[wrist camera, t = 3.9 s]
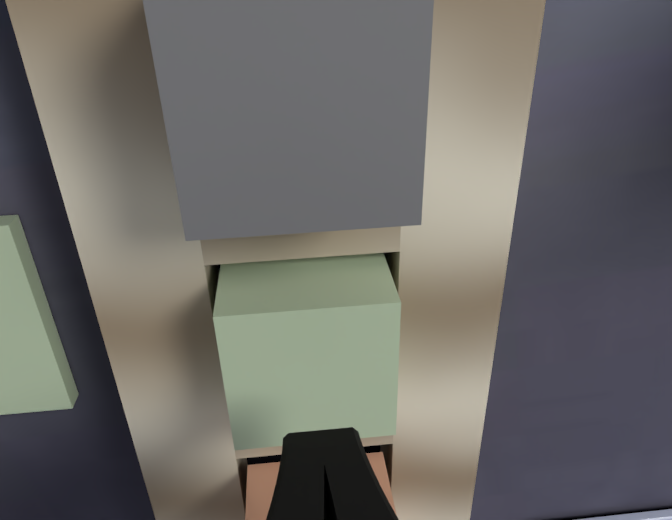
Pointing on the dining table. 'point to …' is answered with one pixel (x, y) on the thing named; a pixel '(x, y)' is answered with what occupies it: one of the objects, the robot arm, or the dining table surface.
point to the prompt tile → (28, 333)
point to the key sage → (308, 346)
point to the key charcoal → (293, 112)
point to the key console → (284, 248)
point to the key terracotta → (265, 478)
